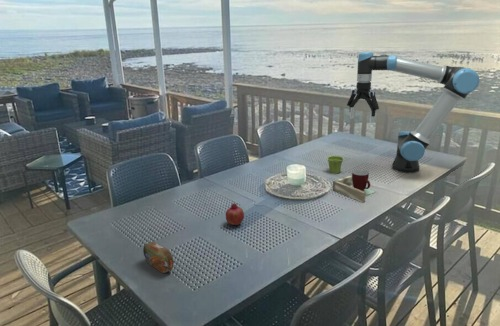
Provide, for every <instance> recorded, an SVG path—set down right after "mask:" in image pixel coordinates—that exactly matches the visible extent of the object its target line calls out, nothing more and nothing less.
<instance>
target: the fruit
mask: <svg viewBox="0 0 500 326" xmlns="http://www.w3.org/2000/svg"><path fill="white" fill-rule="evenodd" d="M244 218H245V212H244V210H243V208H242V207H240V206H238V204H237V203H232V204H231V206H230V207H229V208H228V209H226V211H225V220H226V223H228V224H230V225H233V226H237V225H239V224H241V223H242V222H243V221H244Z"/></svg>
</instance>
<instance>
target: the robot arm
mask: <svg viewBox="0 0 500 326" xmlns="http://www.w3.org/2000/svg"><path fill="white" fill-rule="evenodd" d="M357 58H358V59H357V74H356V81H357V82H356V86H355V87H356V88H355V89H353V90H352V91H351V95H350V97H349V99H348V101H347V103H346V106H348V107H349V114H350V115H349V119H350V120H354V119H355V111H356V107H355V105H357V102H359V100H364V101H366V103H367V105H368V106H369V108H370V110H369V118H368V119H369V122H368V123H374V122H375V116H376V111H377V110H379V109H380V106H379V104H378V101H377V98H376V91H371V89H372V74H373V71H392V72H396V73H401V74H405V75H409V76H414V77H419V78H422V79H426V80H432V81H435V82H437V83H438V84H441V85H444V86H443V87H442V90H443V92H442V94H441V95H440V96H439V98H438V99H437V101H436V102H435V103H434V105H433V106H432V107H431V109H430V110H428V112H427V114H426V115H425V116H424V118H423V119H422V120H421V122H420V123H419V125H418V126H416V129H415V130H400V131H399V132H398V134H397V144H396V155H395V158H394V160H393V162H392V164H391V168H392V170H394V171H396V172H400V173H408V174H409V173H410V174H412V173H418V172H419V171H420V163H419V160H420V159H422V158H423V157H424V156H425V152H426V149H427V147H429V145H430V143H431V141H430V139H431V138H432V137H433V135H434V134H435V132H436V131H437V130H438V129H439V128H440V126H441V125H442V124H443V123H444V121H445V119H446V118H447V117H448V116H449V115H450V113H451V112H452V111H453V109H454V108H455V107H456V105H457V104H458V103H459V101H462V100H463V101H464V100H466V98H467V96H468V95H469V94H470V93H472V92H474V91H475V90H476V89H477V88H478V87H479V84H480V80H481V79H480V76H479V74H478V73H477V71H475V70H474V69H471V68H469V67H464V66H450V65H443V66H441V65H437V64H436V65H435V64H430V63H426V62H421V61H417V60H411V59H406V58H401V57H398V56H397V55H393V54H391V55H389V54H388V55H387V54H385V53H383V54H380V55H374V52H372V51H368V52H367V51H363V52H360V53H359V54H358V57H357Z"/></svg>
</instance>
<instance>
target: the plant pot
mask: <svg viewBox="0 0 500 326" xmlns="http://www.w3.org/2000/svg"><path fill="white" fill-rule="evenodd" d="M326 159H327V161H328V168H329V169H328V170H329V173H330V174H336V175H337V174H340V173H341V170H342V169H341V168H342V163H343V161H344V157H342V156H338V155H335V156H334V155H332V156H328V157H327V158H326Z"/></svg>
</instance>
